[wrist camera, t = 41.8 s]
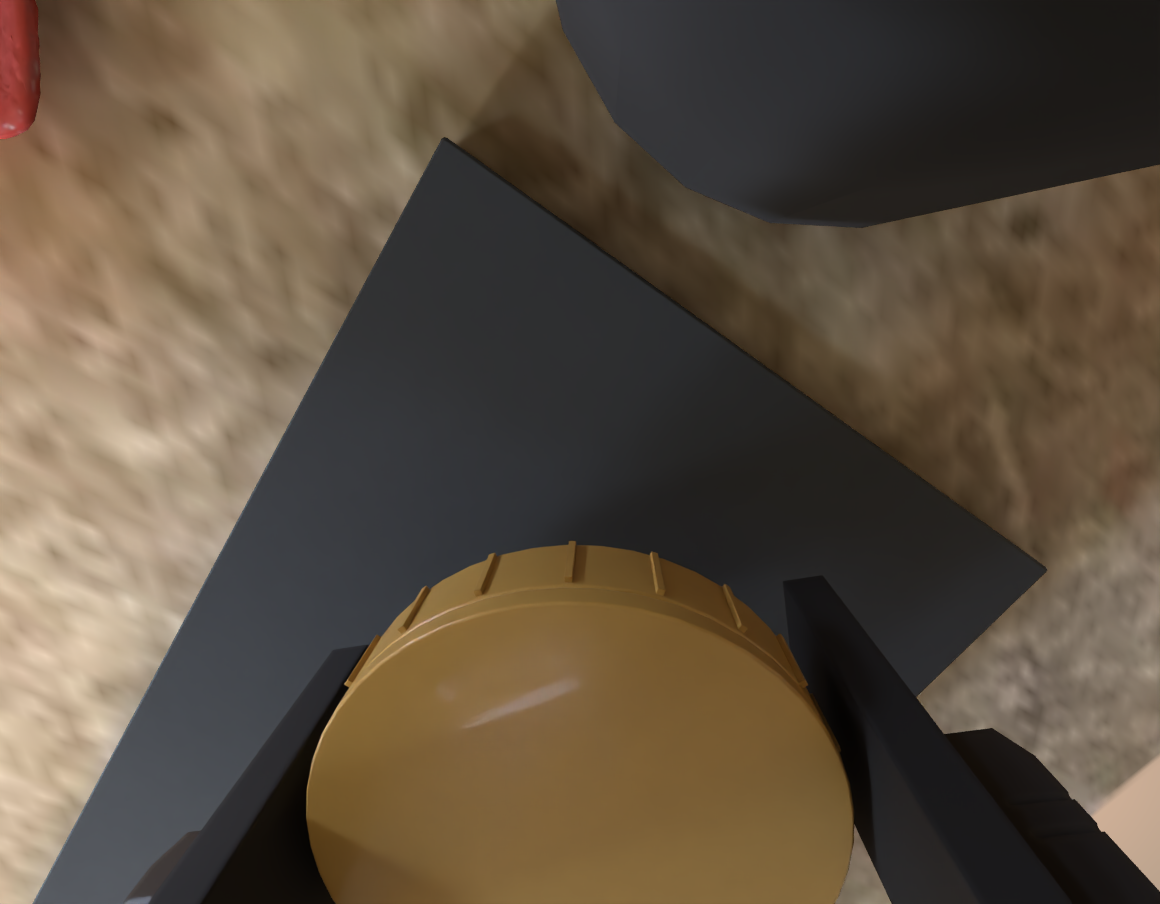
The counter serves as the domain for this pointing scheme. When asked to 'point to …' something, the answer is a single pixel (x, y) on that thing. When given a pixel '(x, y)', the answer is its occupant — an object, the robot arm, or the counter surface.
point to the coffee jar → (876, 97)
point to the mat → (519, 495)
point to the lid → (579, 747)
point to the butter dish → (18, 66)
